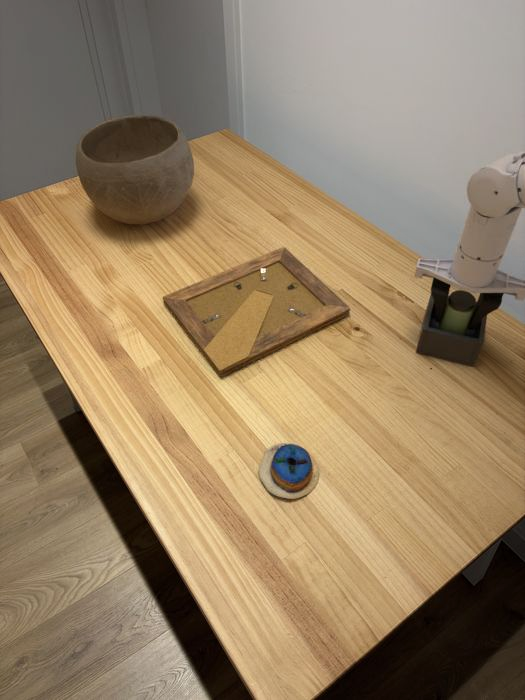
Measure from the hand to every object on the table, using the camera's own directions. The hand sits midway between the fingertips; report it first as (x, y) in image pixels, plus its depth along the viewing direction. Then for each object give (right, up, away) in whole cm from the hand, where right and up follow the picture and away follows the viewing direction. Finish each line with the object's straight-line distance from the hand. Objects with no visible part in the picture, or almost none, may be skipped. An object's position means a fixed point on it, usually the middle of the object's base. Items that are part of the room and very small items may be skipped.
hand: (454, 321), depth 81 cm
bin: (0, -3, +3) cm, 4 cm away
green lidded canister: (0, -1, +1) cm, 1 cm away
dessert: (-25, -20, -12) cm, 34 cm away
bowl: (-51, +23, +27) cm, 62 cm away
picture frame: (-29, +2, +8) cm, 30 cm away
